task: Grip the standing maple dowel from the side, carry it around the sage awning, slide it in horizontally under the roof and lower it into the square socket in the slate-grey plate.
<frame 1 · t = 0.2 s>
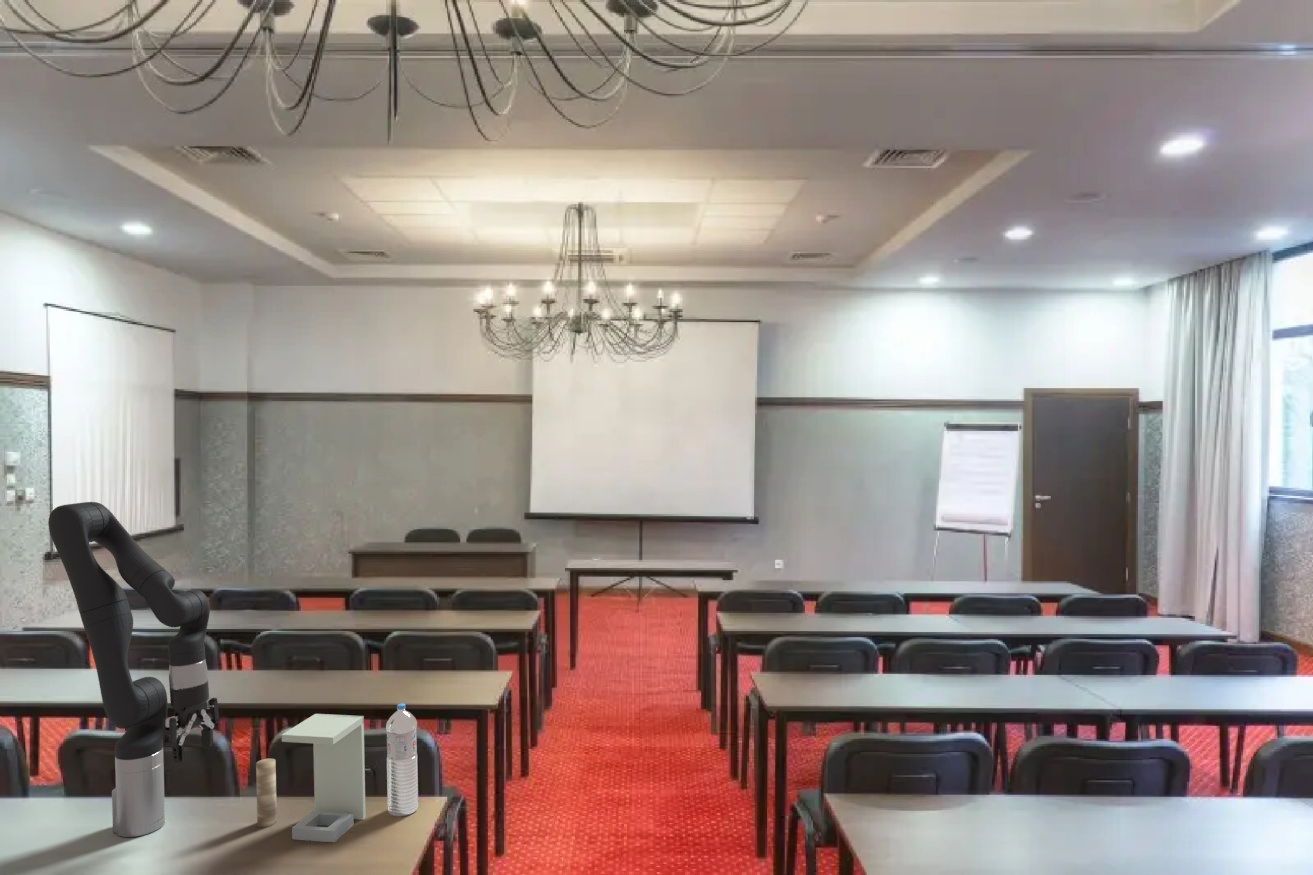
hand: (193, 753, 188), 17 cm above the table, tool pointing down, fingers open, 8 cm apart
water bottle: (403, 811, 197), on the table
peg: (267, 823, 191), on the table
socket stand: (323, 831, 187), on the table
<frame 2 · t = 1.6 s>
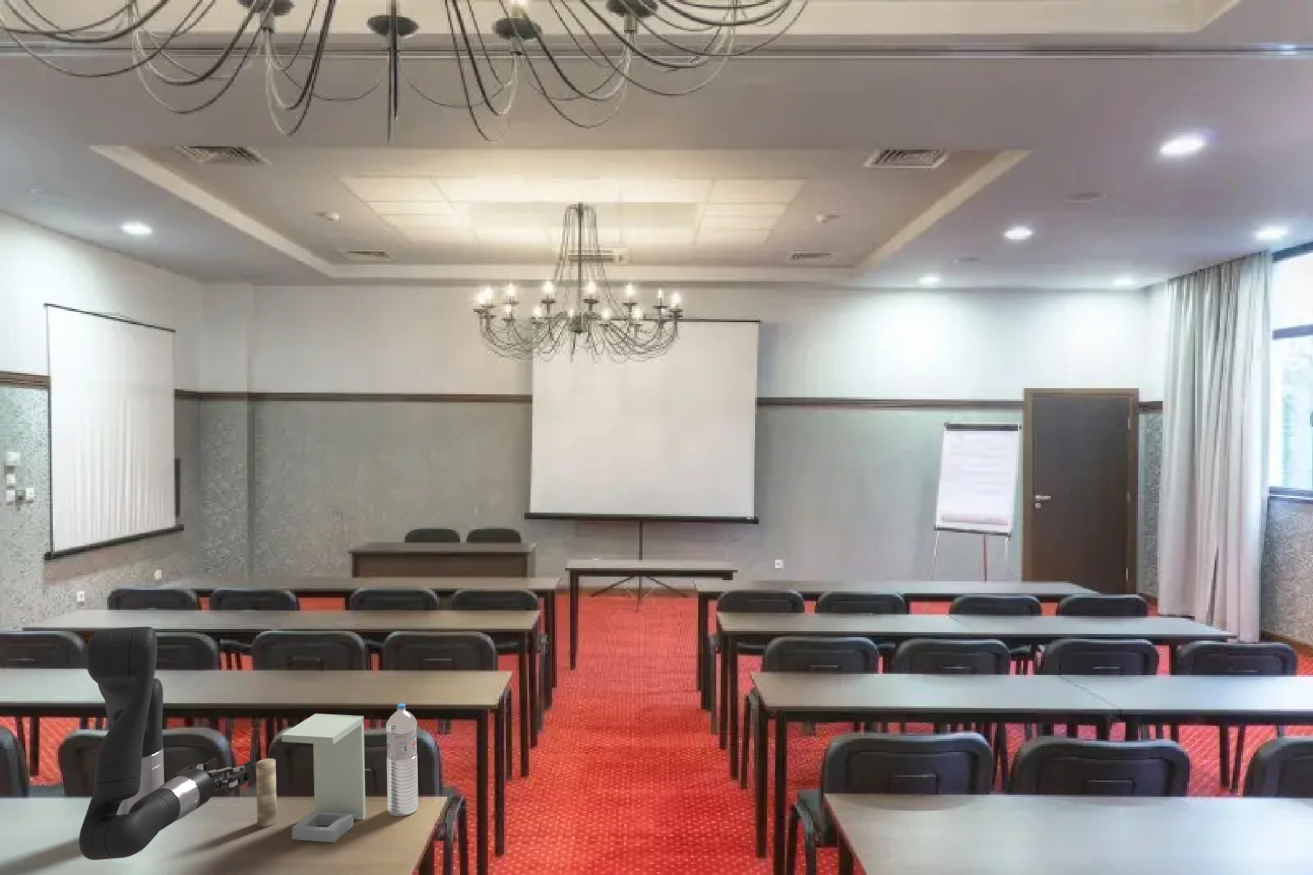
hand: (234, 763, 180), 18 cm above the table, tool horizontal, fingers open, 8 cm apart
nothing on the table moved.
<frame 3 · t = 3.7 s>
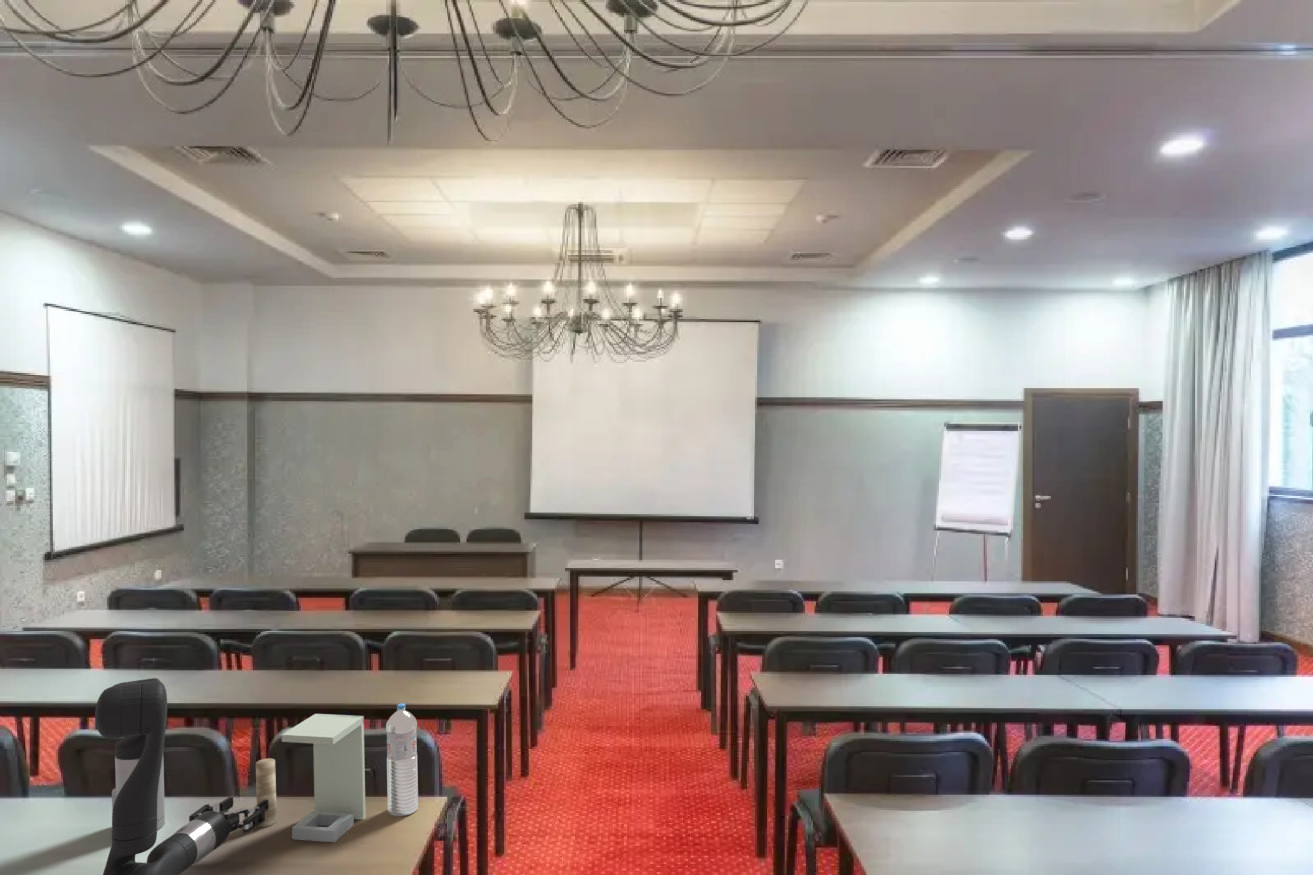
hand: (249, 802, 185), 8 cm above the table, tool horizontal, fingers open, 8 cm apart
nothing on the table moved.
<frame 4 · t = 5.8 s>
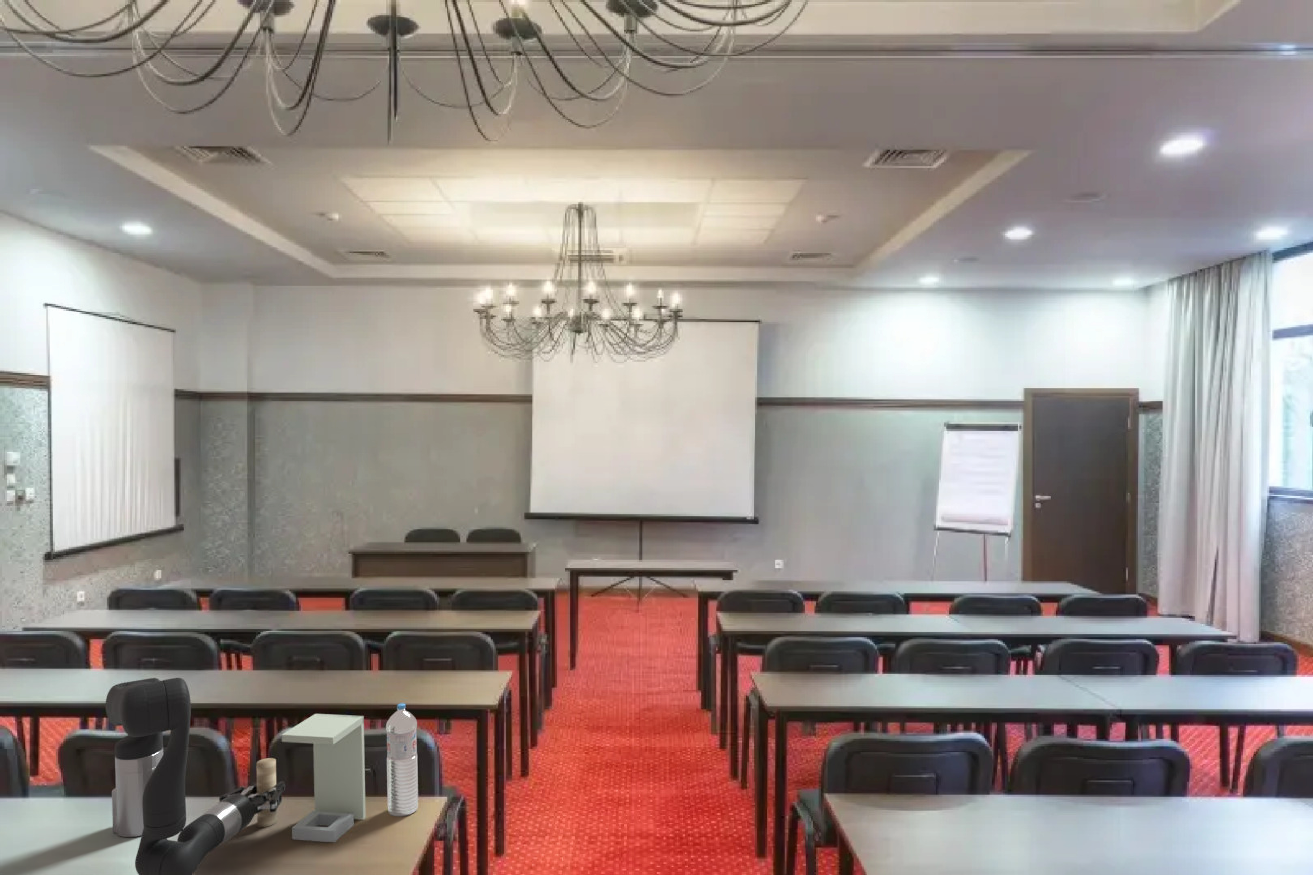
hand: (273, 785, 194), 8 cm above the table, tool horizontal, fingers closed on peg, 4 cm apart
peg: (267, 823, 191), on the table, touching gripper
everything else where it was.
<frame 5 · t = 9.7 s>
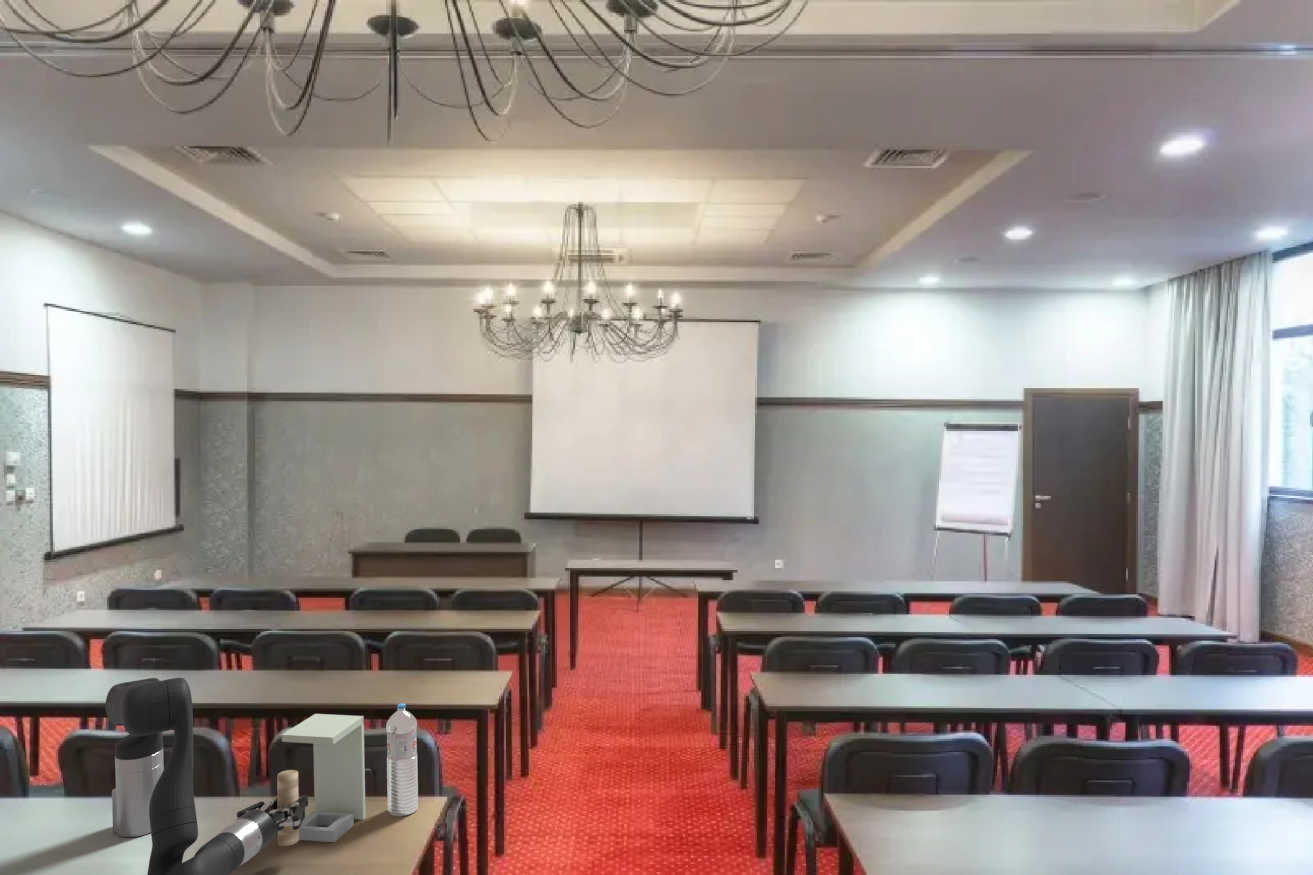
hand: (295, 799, 177), 12 cm above the table, tool horizontal, fingers closed on peg, 4 cm apart
peg: (288, 841, 174), point 4 cm above the table, touching gripper
everything else where it was.
when the fingers open (8 cm above the table, at t = 13.4 s): peg stays where it is, resting in socket stand.
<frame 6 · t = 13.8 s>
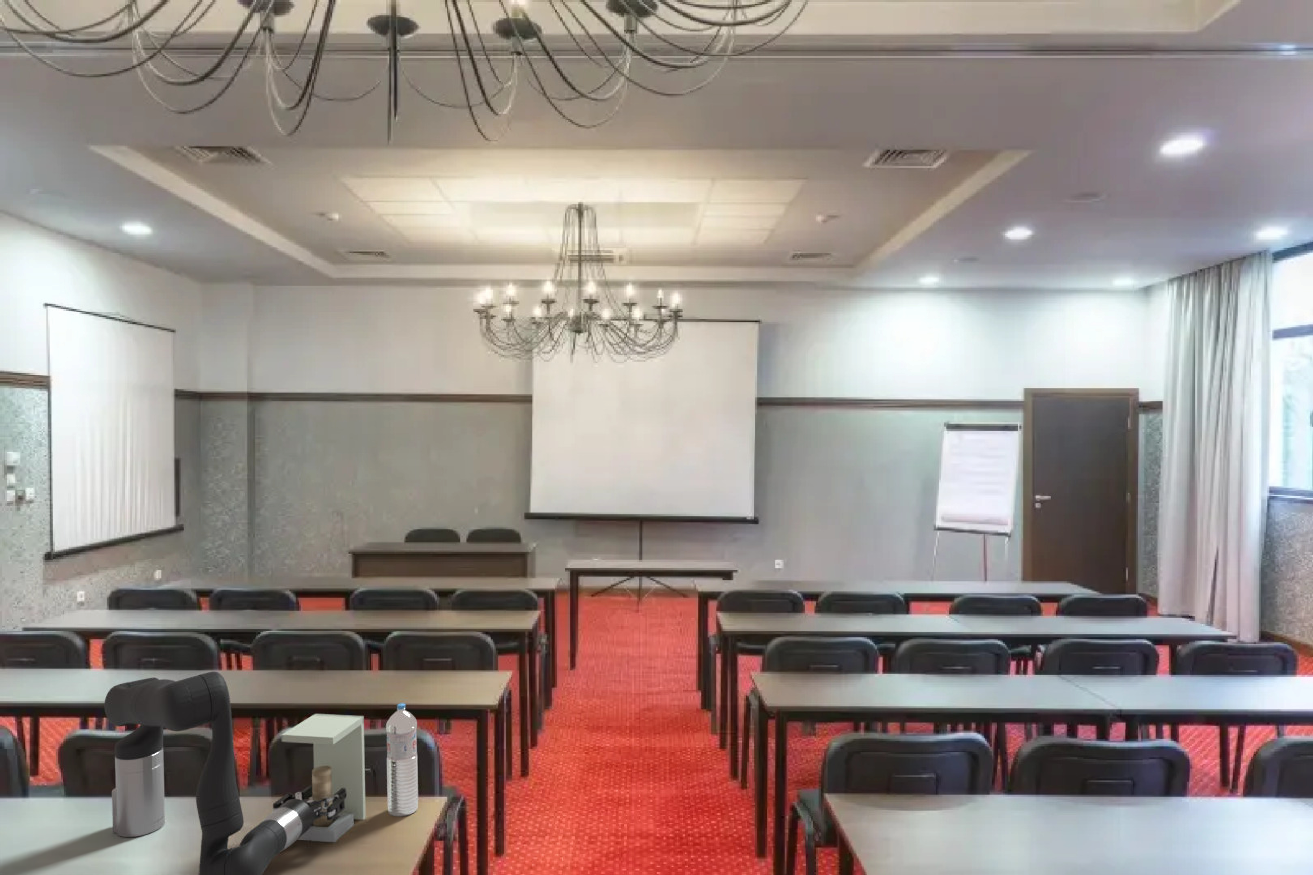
hand: (327, 791, 189), 8 cm above the table, tool horizontal, fingers open, 7 cm apart
peg: (323, 832, 187), resting in socket stand
everything else where it was.
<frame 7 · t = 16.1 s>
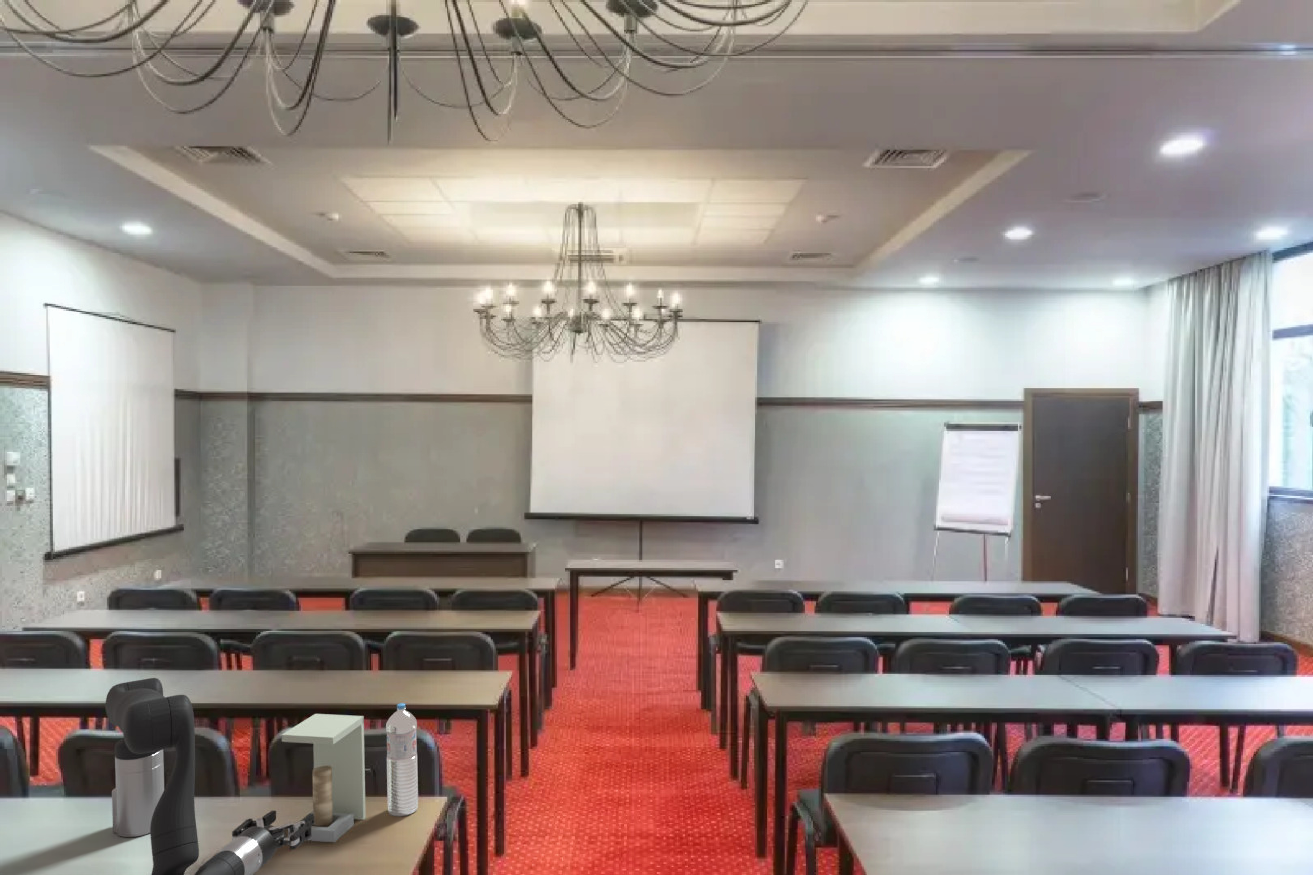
hand: (293, 816, 176), 9 cm above the table, tool horizontal, fingers open, 8 cm apart
nothing on the table moved.
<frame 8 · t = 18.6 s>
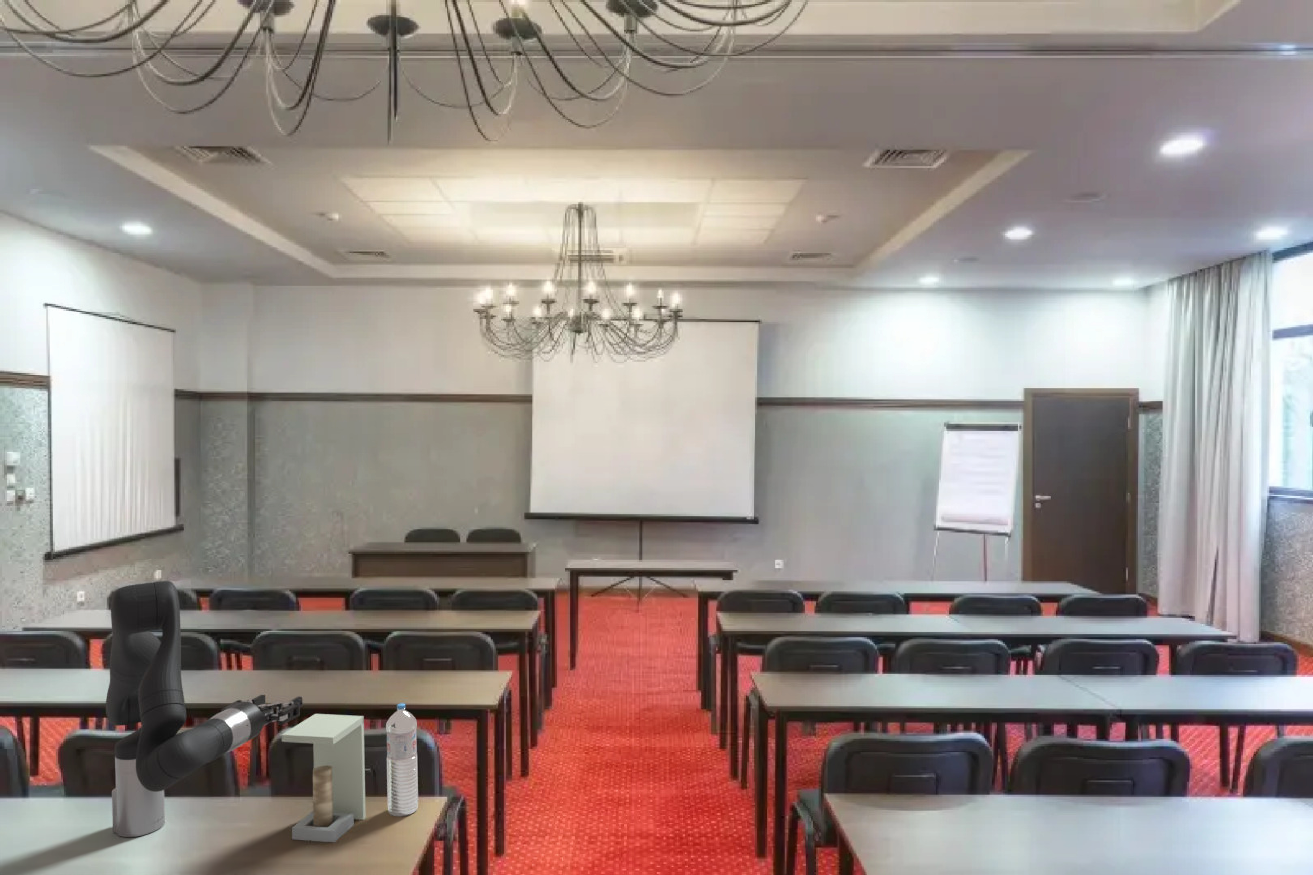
hand: (282, 700, 179), 32 cm above the table, tool horizontal, fingers open, 8 cm apart
nothing on the table moved.
at the end: peg 0.1 cm off-centre in the socket stand, point 0.0 cm above the socket stand's base; peg tilted 1°; the gripper is holding nothing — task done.
